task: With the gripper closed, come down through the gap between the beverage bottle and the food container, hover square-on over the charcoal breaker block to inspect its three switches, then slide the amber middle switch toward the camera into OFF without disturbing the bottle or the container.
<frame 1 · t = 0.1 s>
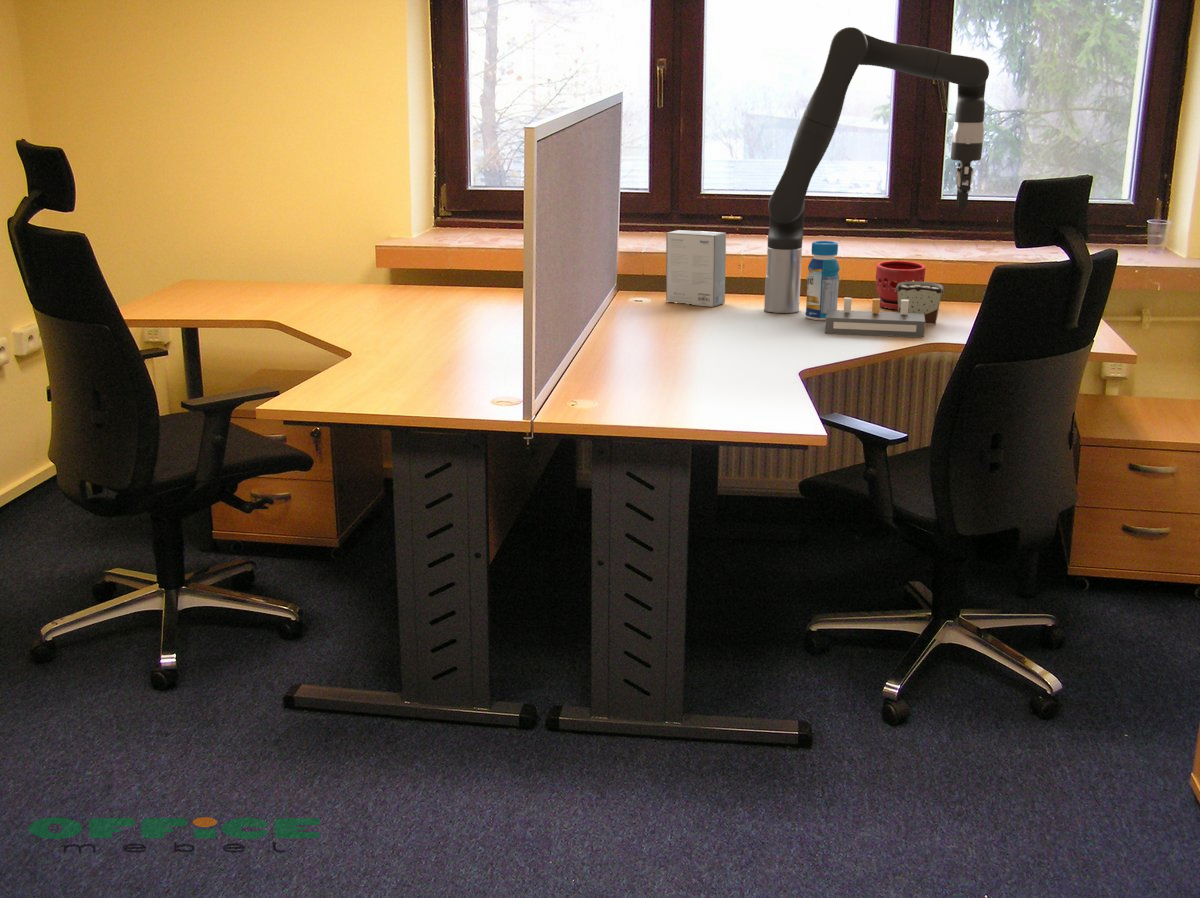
hand: (961, 205, 301), 29 cm above the table, fingers open, 8 cm apart
switch right: (904, 307, 293), point 6 cm above the table, slide at 0.0 cm
plant pot: (897, 308, 324), on the table
switch mid: (875, 306, 294), point 6 cm above the table, slide at 0.0 cm
breaker block: (874, 331, 295), on the table
switch left: (847, 304, 296), point 6 cm above the table, slide at 0.0 cm
beverage bottle: (820, 318, 311), on the table
food container: (917, 321, 306), on the table
hard drive box: (695, 303, 332), on the table
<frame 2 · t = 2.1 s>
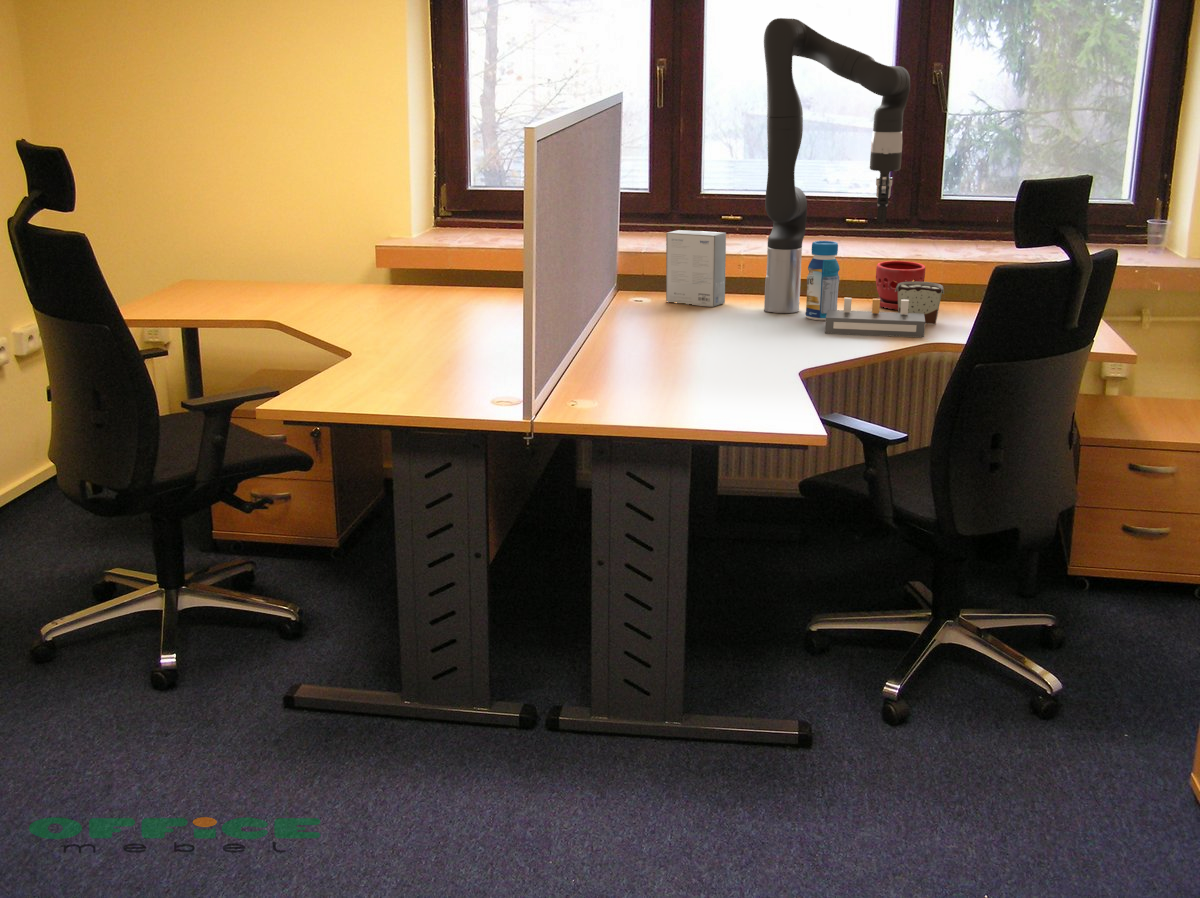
hand: (881, 221, 295), 26 cm above the table, fingers closed
nothing on the table moved.
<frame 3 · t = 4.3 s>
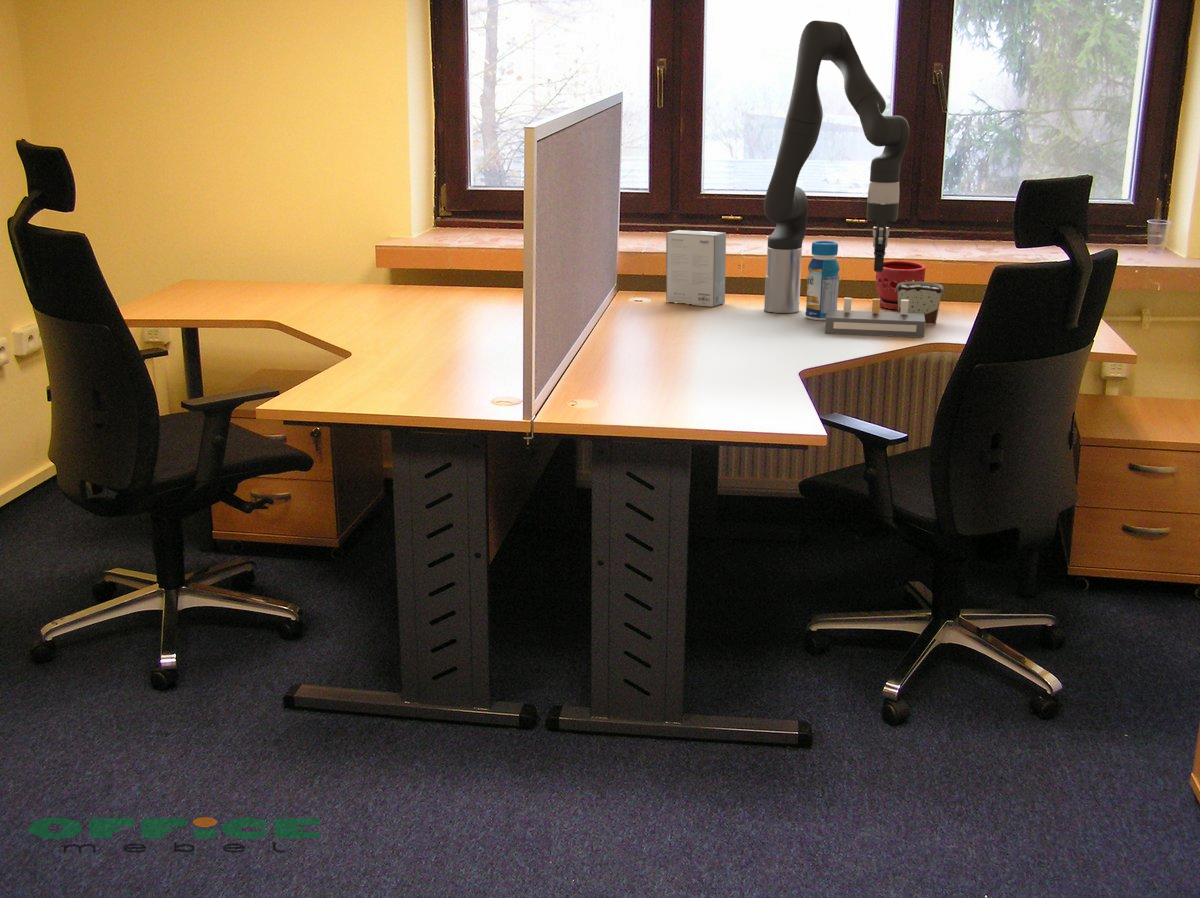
hand: (878, 271, 291), 15 cm above the table, fingers closed
nothing on the table moved.
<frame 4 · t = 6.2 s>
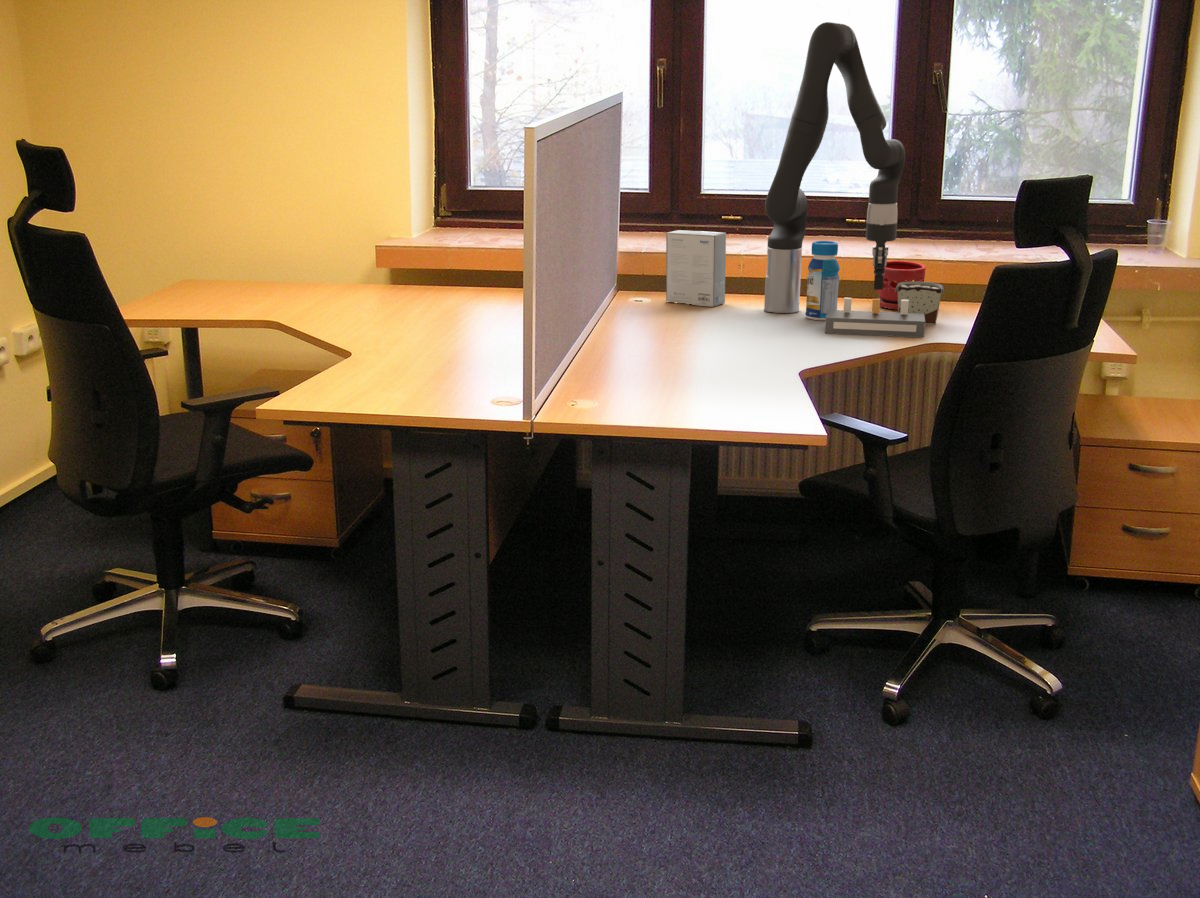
hand: (878, 289, 300), 9 cm above the table, fingers closed
nothing on the table moved.
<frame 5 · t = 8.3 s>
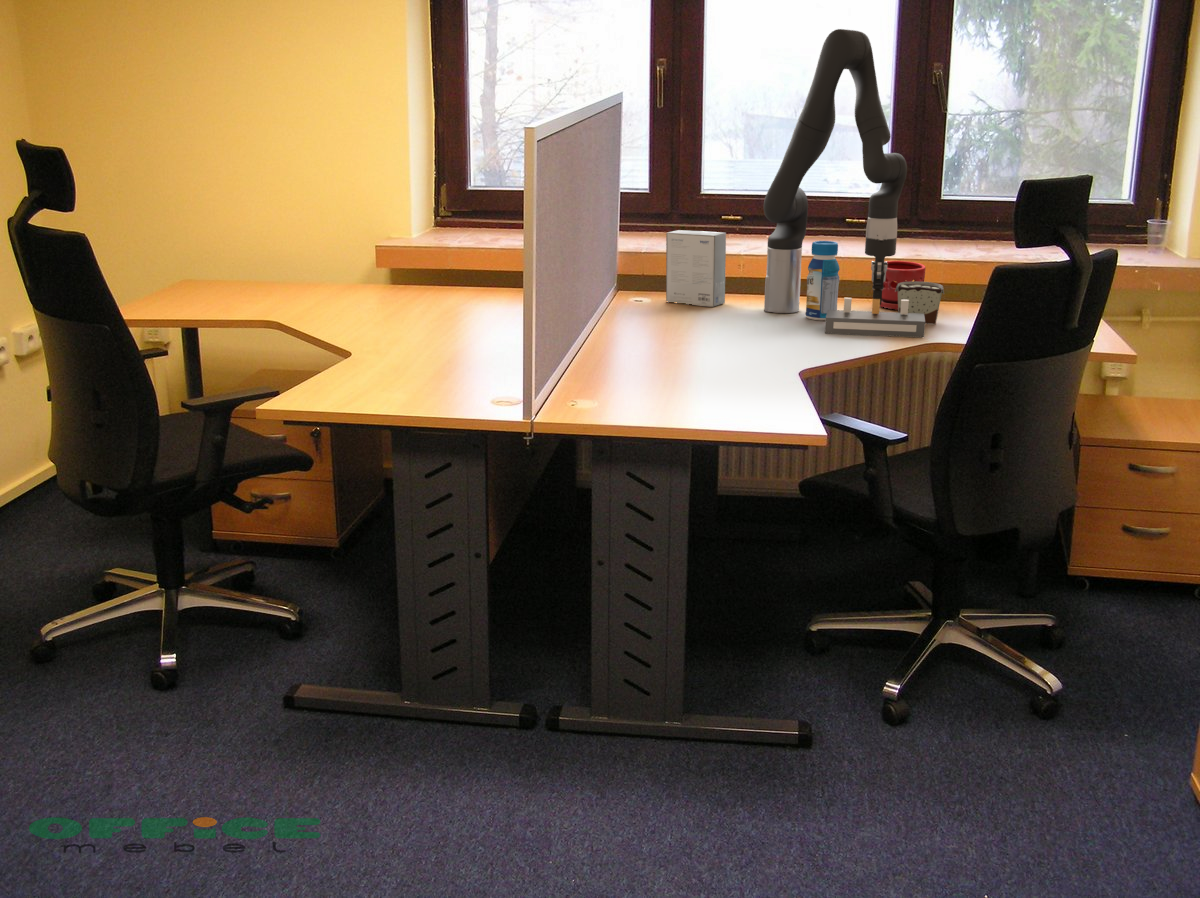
hand: (876, 304, 296), 6 cm above the table, fingers closed
switch mid: (875, 306, 294), point 6 cm above the table, slide at 0.4 cm, touching gripper
everything else where it was.
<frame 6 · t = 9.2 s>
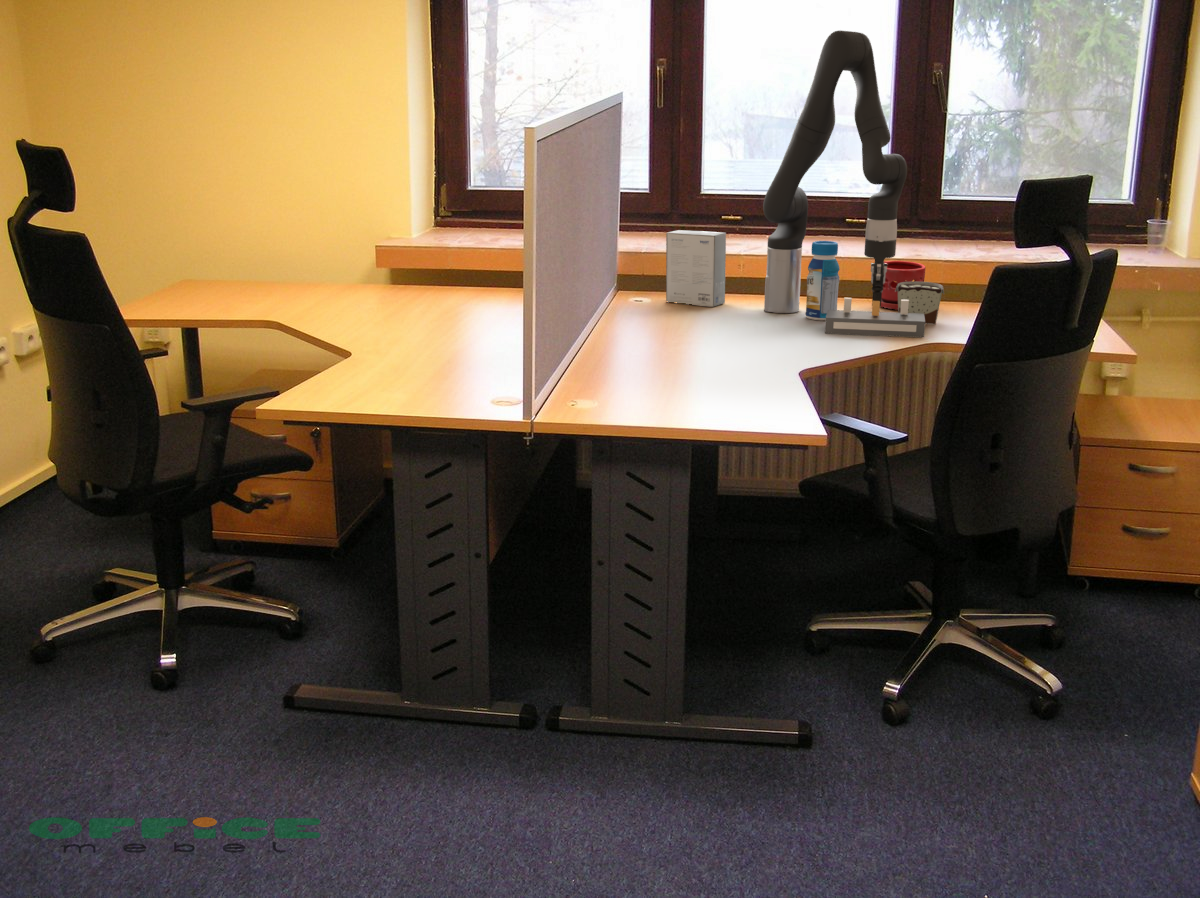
hand: (876, 306, 294), 6 cm above the table, fingers closed
switch mid: (875, 308, 292), point 6 cm above the table, slide at 2.9 cm, touching gripper
everything else where it was.
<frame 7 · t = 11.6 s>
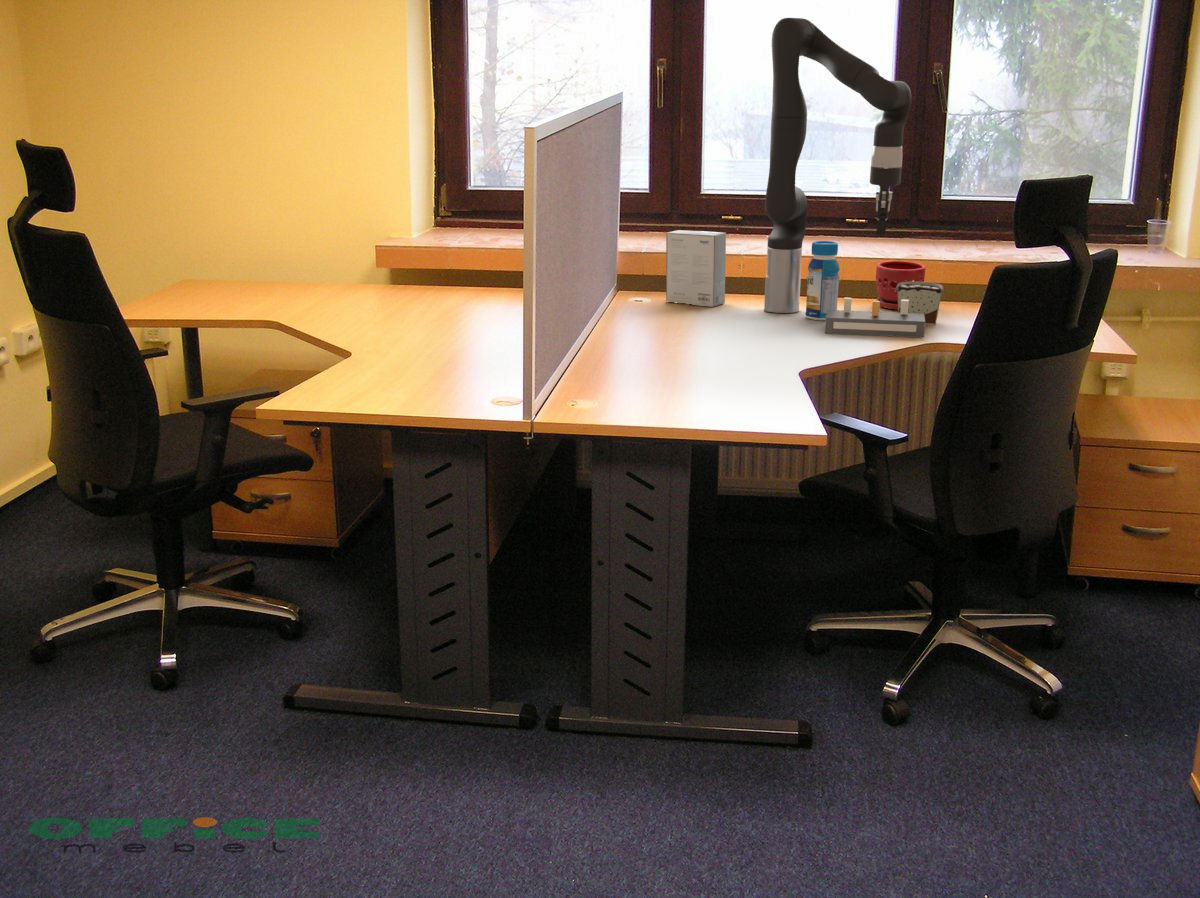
hand: (880, 235, 296), 23 cm above the table, fingers closed
switch mid: (875, 308, 292), point 6 cm above the table, slide at 2.9 cm
everything else where it was.
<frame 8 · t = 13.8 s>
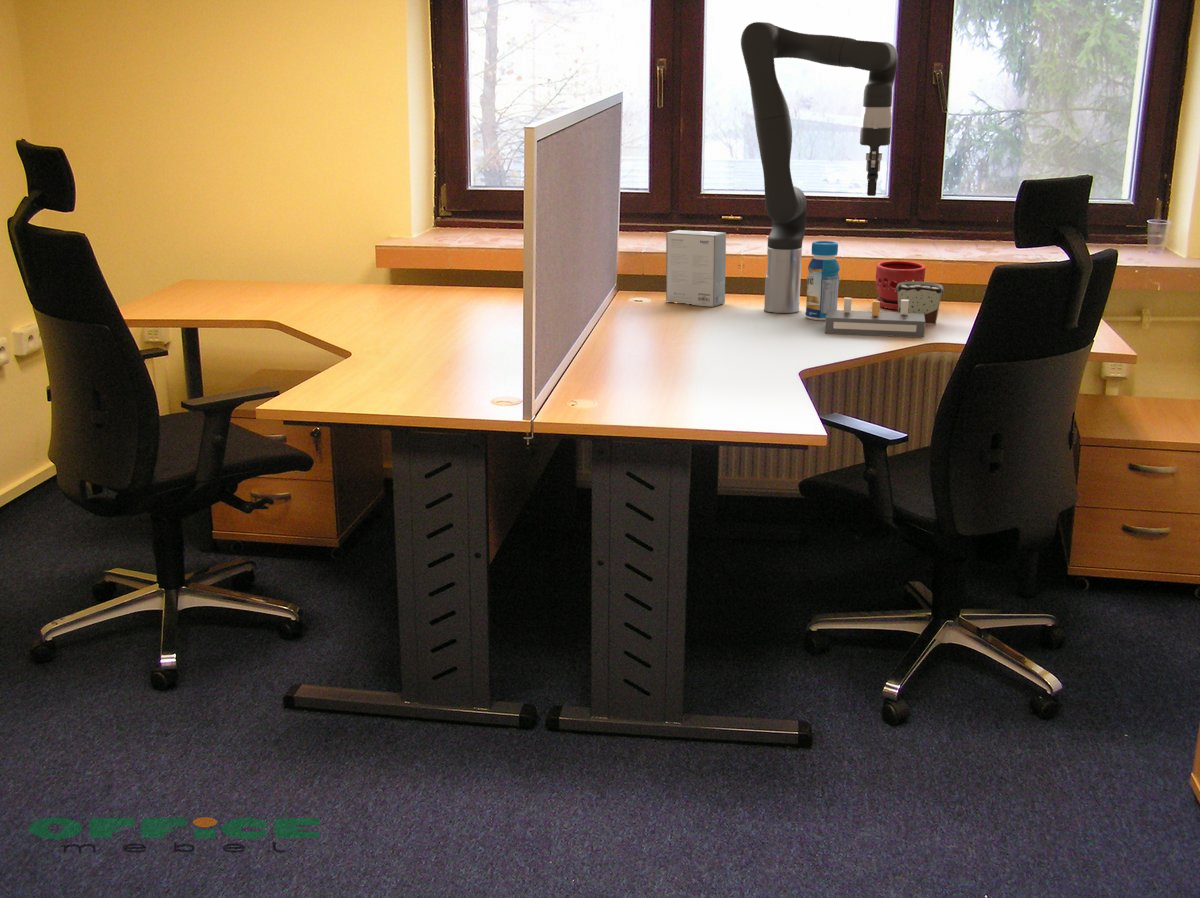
hand: (871, 195, 300), 32 cm above the table, fingers closed
nothing on the table moved.
at the end: switch mid slide at 2.9 cm; beverage bottle moved 0.2 cm from its start; food container moved 0.2 cm from its start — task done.
